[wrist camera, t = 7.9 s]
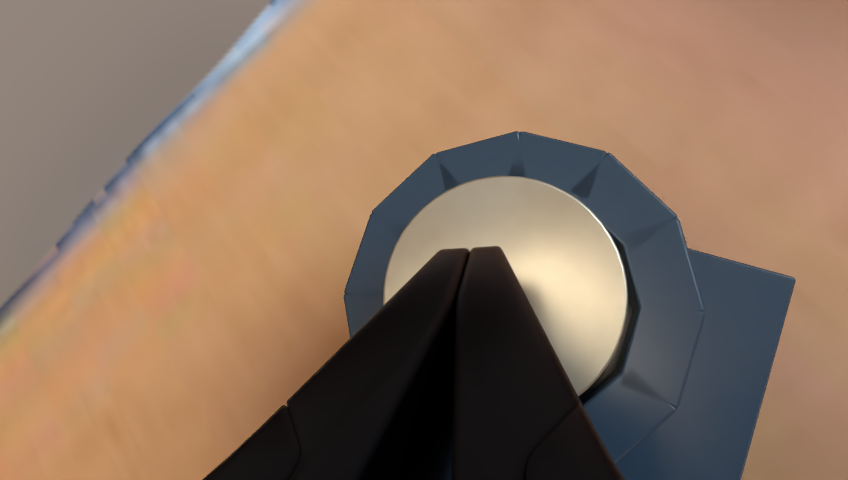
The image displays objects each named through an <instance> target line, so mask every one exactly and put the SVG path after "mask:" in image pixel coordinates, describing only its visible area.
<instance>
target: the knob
mask: <svg viewBox="0 0 848 480" xmlns="http://www.w3.org/2000/svg"><path fill="white" fill-rule="evenodd" d="M487 246H499V247H501V249H502V250H503V252H504V254H505V256H506V258H507V259H508V261H509V263H510V265H511V267H512V269H513V271H514V273H515V275H516V277H517V279H518V281H519V283H520V285H521V287H522V288H523V290H524V292H525V294H526V296H527V298H528V300H529V302H530V304H531V306H532V308H533V310H534V312H535V314H536V316H537V317H538V319H539V321H540V323H541V325H542V327H543V329H544V331H545V333H546V335H547V337H548V339H549V341H550V343H551V345H552V346H553V348H554V350H555V352H556V354H557V356H558V358H559V360H560V362H561V364H562V366H563V368H564V370H565V372H566V374H567V375H568V377H569V379H570V381H571V383H572V385H573V387H574V389H575V391H576V393H577V395H578V396H579V395H581V394H582V393H583V392H585V391H586V390H587V389H588V388H589V387H590V386H591V385H592V384H593V383H594V382H595V381H596V380H597V379H598V378H599V377H600V375H601V374H602V373H603V371H604V370H605V369H606V367H607V366H608V365H609V363H610V361H611V359H612V357H613V356H614V354H615V352H616V350H617V348H618V345H619V343H620V340H621V337H622V335H623V331H624V327H625V322H626V318H627V308H628V288H627V279H626V274H625V269H624V265H623V262H622V259H621V256H620V253H619V251H618V249H617V247H616V245H615V243H614V240H613V238H612V236H611V235H610V233H609V232H608V231H607V229H606V228H605V226H604V225H603V223H602V222H601V221H600V220H599V219H598V217H597V216H596V215H595V214H594V213H593V212H592V211H591V210H590V209H589V208H588V207H587V206H585V205H584V204H583V203H582V202H581V201H580V200H578V199H577V198H575V197H574V196H572V195H571V194H569V193H567V192H566V191H564V190H562V189H560V188H558V187H556V186H554V185H551V184H548V183H545V182H542V181H539V180H536V179H531V178H526V177H520V176H491V177H485V178H480V179H475V180H472V181H469V182H466V183H463V184H460V185H458V186H456V187H453V188H451V189H449V190H447V191H445V192H444V193H442V194H441V195H439V196H437V197H436V198H434V199H433V200H432V201H431V202H429V203H428V204H427V205H426V206H424V207H423V208H422V209H421V210H420V211H419V212H418V213H417V214H416V215H415V216H414V218H413V219H412V220H411V221H410V222H409V224H408V225H407V226H406V228H405V229H404V231H403V232H402V234H401V236H400V237H399V239H398V241H397V243H396V244H395V247H394V249H393V252H392V254H391V257H390V259H389V263H388V267H387V270H386V274H385V281H384V289H383V305H384V304H385V303H386V302H387V301H388V300H389V299H390V298H391V297H392V296H393V295H394V294H396V293H397V292H398V291H399V290H400V289H401V288H402V287H403V286H404V285H405V284H406V283H407V282H408V281H409V280H410V279H411V278H412V277H413V276H414V275H415V274H416V273H417V272H418V271H419V270H420V269H421V268H422V267H423V266H424V265H425V264H426V263H427V262H428V261H429V260H430V259H431V258H432V257H433V256H434V255H435V254H436V253H437V252H438V251H440V250H442V249H454V248H467V249H469V251H471V249H472V248H475V247H487Z"/></svg>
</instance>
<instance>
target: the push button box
mask: <svg viewBox="0 0 848 480" xmlns="http://www.w3.org/2000/svg"><path fill="white" fill-rule="evenodd" d="M491 176H520V177H526V178H531V179H536V180H539V181H542V182H545V183H548V184H551V185H554V186H556V187H558V188H560V189H562V190H564V191H566V192H567V193H569V194H571V195H572V196H574V197H575V198H577V199H578V200H580V201H581V202H582V203H583V204H584V205H585V206H587V207H588V208H589V209H590V210H591V211H592V212H593V213H594V214H595V215H596V216H597V217H598V219H599V220H600V221H601V222H602V223H603V225H604V226H605V228H606V229H607V231H608V232H609V233H610V235H611V236H612V238H613V240H614V243H615V245H616V247H617V249H618V251H619V253H620V256H621V259H622V262H623V265H624V269H625V274H626V279H627V288H628V308H627V318H626V322H625V327H624V331H623V335H622V337H621V340H620V343H619V345H618V348H617V350H616V352H615V354H614V356H613V357H612V359H611V361H610V363H609V365H608V366H607V367H606V369H605V370H604V371H603V373H602V374H601V375H600V377H599V378H598V379H597V380H596V381H595V382H594V383H593V384H592V385H591V386H590V387H589V388H588V389H587V390H586V391H585V392H583V393H582V394H581V395H579V396H578V397H579V399H580V401H581V403H582V406H583V407H584V408H585V409H586V411H587V413H588V415H589V417H590V419H591V421H592V423H593V425H594V427H595V429H596V431H597V432H598V434H599V436H600V438H601V439H602V441H603V443H604V445H605V446H606V448H607V450H608V452H609V453H610V455H611V457H612V459H613V460H614V462H615V464H616V466H617V467H618V469H619V470H620V472H621V473H622V475H623V476H624V478H625V479H626V480H741V477H742V473H743V469H744V466H745V462H746V458H747V455H748V451H749V448H750V444H751V440H752V437H753V433H754V429H755V426H756V422H757V419H758V415H759V411H760V408H761V404H762V400H763V397H764V393H765V390H766V386H767V382H768V379H769V375H770V371H771V368H772V364H773V361H774V357H775V353H776V350H777V346H778V342H779V339H780V335H781V332H782V328H783V324H784V321H785V317H786V313H787V310H788V306H789V303H790V299H791V295H792V292H793V288H794V284H795V278H793V277H791V276H787V275H783V274H780V273H776V272H772V271H769V270H765V269H761V268H758V267H754V266H750V265H747V264H743V263H740V262H736V261H732V260H729V259H725V258H721V257H718V256H714V255H710V254H707V253H703V252H699V251H696V250H692V249H688V248H687V245H686V241H685V238H684V234H683V231H682V227H681V224H680V221H679V219H678V218H677V215H676V214H675V213H674V212H673V211H672V210H671V209H670V208H669V207H668V206H666V205H665V204H664V203H663V202H662V201H661V200H660V199H659V198H658V197H657V196H656V195H655V194H654V193H653V192H651V191H650V190H649V189H648V188H647V187H646V186H645V185H644V184H643V183H642V182H641V181H640V180H639V179H638V178H636V177H635V176H634V175H633V174H632V173H631V172H630V171H629V170H628V169H627V168H626V167H625V166H624V165H622V164H621V163H620V162H619V161H618V160H617V159H616V158H615V157H614V156H613V155H612V154H611V153H606V152H605V151H603V150H598V149H594V148H590V147H586V146H582V145H577V144H573V143H569V142H565V141H561V140H557V139H552V138H548V137H544V136H540V135H536V134H532V133H527V132H520V133H519V132H517V131H515V132H512V133H508V134H504V135H501V136H497V137H493V138H489V139H486V140H482V141H478V142H475V143H471V144H467V145H463V146H460V147H456V148H452V149H449V150H445V151H441V152H438V153H436V154H432V155H431V156H430V157H429V158H428V159H427V160H426V161H425V162H424V163H423V164H422V165H421V166H420V167H419V168H417V169H416V170H415V171H414V172H413V173H412V174H411V175H410V176H409V177H408V178H407V179H406V180H405V181H404V182H402V183H401V184H400V185H399V186H398V187H397V188H396V189H395V190H394V191H393V192H392V193H391V194H390V195H389V196H388V197H386V198H385V199H384V200H383V201H382V202H381V203H380V204H379V205H378V206H377V207H376V208H375V209H374V210H373V211H372V214H371V215H370V218H369V221H368V224H367V227H366V230H365V232H364V235H363V238H362V241H361V244H360V247H359V250H358V253H357V256H356V259H355V261H354V264H353V267H352V270H351V273H350V276H349V279H348V282H347V285H346V288H345V291H344V293H345V295H344V301H345V308H346V314H347V320H348V326H349V333H350V338H351V337H352V336H353V335H354V334H355V333H356V332H357V331H358V330H359V329H360V328H361V327H362V326H363V325H364V324H365V323H366V322H367V321H368V320H369V319H370V318H371V317H372V316H373V315H374V314H375V313H376V312H377V311H378V310H379V309H380V308H381V307H382V306H383V289H384V281H385V274H386V270H387V267H388V263H389V259H390V257H391V254H392V252H393V249H394V247H395V244H396V243H397V241H398V239H399V237H400V236H401V234H402V232H403V231H404V229H405V228H406V226H407V225H408V224H409V222H410V221H411V220H412V219H413V218H414V216H415V215H416V214H417V213H418V212H419V211H420V210H421V209H422V208H423V207H424V206H426V205H427V204H428V203H429V202H431V201H432V200H433V199H434V198H436V197H437V196H439V195H441V194H442V193H444V192H445V191H447V190H449V189H451V188H453V187H456V186H458V185H460V184H463V183H466V182H469V181H472V180H475V179H480V178H485V177H491Z"/></svg>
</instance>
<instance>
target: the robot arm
mask: <svg viewBox="0 0 848 480" xmlns="http://www.w3.org/2000/svg"><path fill="white" fill-rule="evenodd" d="M203 480H626V479H625V478H624V476H623V475H622V473H621V472H620V470H619V469H618V467H617V466H616V464H615V462H614V460H613V459H612V457H611V455H610V453H609V452H608V450H607V448H606V446H605V445H604V443H603V441H602V439H601V438H600V436H599V434H598V432H597V431H596V429H595V427H594V425H593V423H592V421H591V419H590V417H589V415H588V413H587V411H586V409H585V408H584V407H583V406H582V403H581V401H580V399H579V397H578V395H577V393H576V391H575V389H574V387H573V385H572V383H571V381H570V379H569V377H568V375H567V374H566V372H565V370H564V368H563V366H562V364H561V362H560V360H559V358H558V356H557V354H556V352H555V350H554V348H553V346H552V345H551V343H550V341H549V339H548V337H547V335H546V333H545V331H544V329H543V327H542V325H541V323H540V321H539V319H538V317H537V316H536V314H535V312H534V310H533V308H532V306H531V304H530V302H529V300H528V298H527V296H526V294H525V292H524V290H523V288H522V287H521V285H520V283H519V281H518V279H517V277H516V275H515V273H514V271H513V269H512V267H511V265H510V263H509V261H508V259H507V258H506V256H505V254H504V252H503V250H502V249H501V247H499V246H487V247H475V248H472V249H471V251H469V249H467V248H454V249H442V250H440V251H438V252H437V253H436V254H435V255H434V256H433V257H432V258H431V259H430V260H429V261H428V262H427V263H426V264H425V265H424V266H423V267H422V268H421V269H420V270H419V271H418V272H417V273H416V274H415V275H414V276H413V277H412V278H411V279H410V280H409V281H408V282H407V283H406V284H405V285H404V286H403V287H402V288H401V289H400V290H399V291H398V292H397V293H396V294H394V295H393V296H392V297H391V298H390V299H389V300H388V301H387V302H386V303H385V304H384V305H383V306H382V307H381V308H380V309H379V310H378V311H377V312H376V313H375V314H374V315H373V316H372V317H371V318H370V319H369V320H368V321H367V322H366V323H365V324H364V325H363V326H362V327H361V328H360V329H359V330H358V331H357V332H356V333H355V334H354V335H353V336H352V337H351V338H350V339H349V340H348V341H347V342H346V343H345V344H344V345H343V346H342V347H341V348H340V349H339V350H338V351H337V352H336V353H335V354H334V355H333V356H332V357H331V358H330V359H329V360H328V361H327V362H326V363H325V364H324V365H323V366H322V367H321V368H320V369H319V370H318V371H317V372H316V373H315V374H314V375H313V376H312V377H311V378H310V379H309V380H308V381H307V382H306V383H305V384H304V385H303V386H302V387H301V388H300V389H299V390H298V391H297V392H296V393H295V394H294V395H293V396H292V397H290V398H289V399H288V401H287V406H285V405H283V406H281V407H280V408H279V409H278V410H277V411H276V412H275V413H274V414H273V415H272V416H271V417H270V418H269V419H268V420H267V421H266V422H265V423H264V424H263V425H262V426H261V427H260V428H259V429H258V430H257V431H256V432H255V433H253V434H252V435H251V436H250V437H249V438H248V439H247V440H246V441H245V442H244V443H243V444H242V445H241V446H240V447H239V448H238V449H237V450H235V451H234V452H233V453H232V454H231V455H230V456H229V457H228V458H227V459H226V460H225V461H223V462H222V463H221V464H220V465H219V466H218V467H216V468H215V469H214V470H213V471H212V472H211V473H210V474H208V475H207V476H206V477H205V478H204V479H203Z"/></svg>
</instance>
